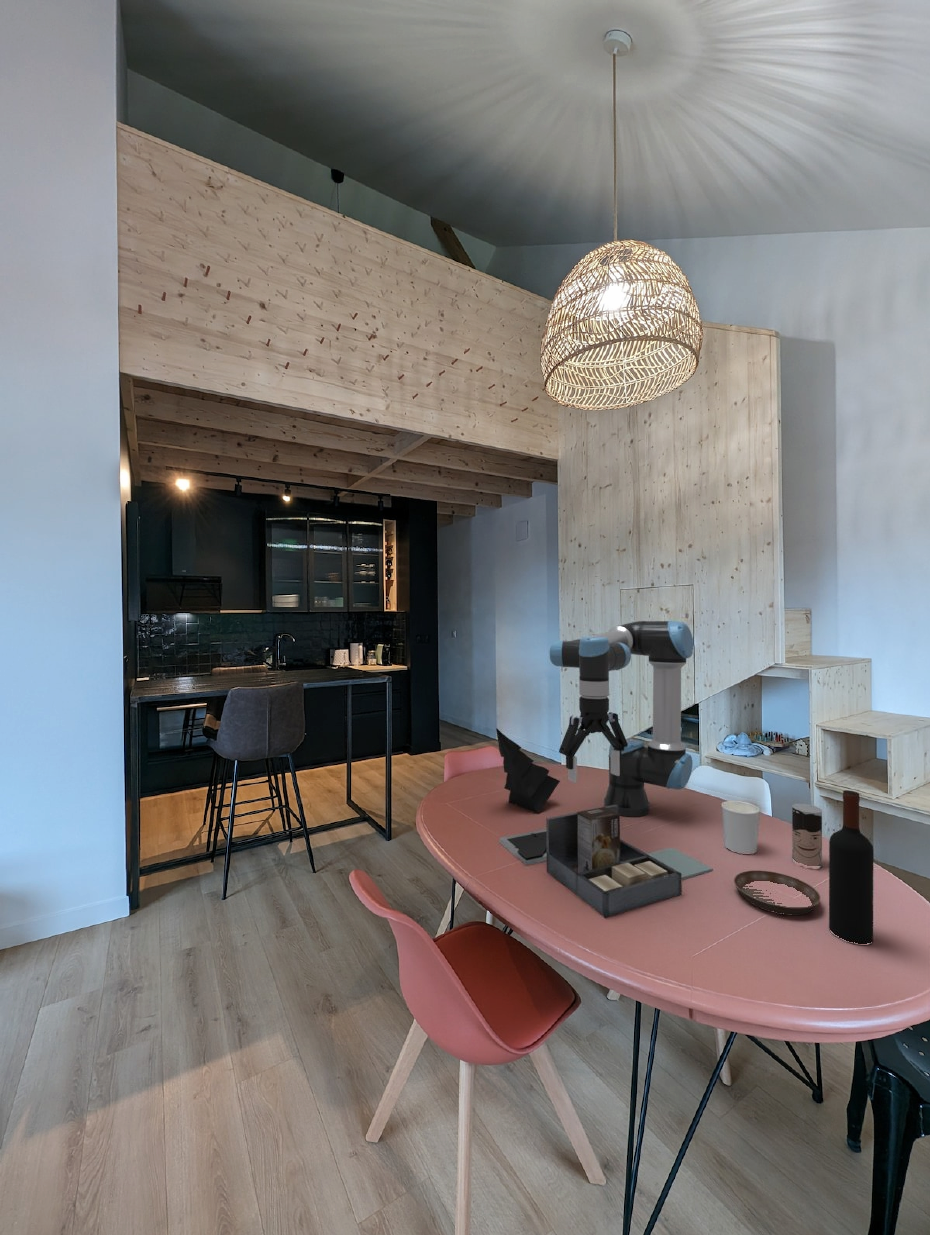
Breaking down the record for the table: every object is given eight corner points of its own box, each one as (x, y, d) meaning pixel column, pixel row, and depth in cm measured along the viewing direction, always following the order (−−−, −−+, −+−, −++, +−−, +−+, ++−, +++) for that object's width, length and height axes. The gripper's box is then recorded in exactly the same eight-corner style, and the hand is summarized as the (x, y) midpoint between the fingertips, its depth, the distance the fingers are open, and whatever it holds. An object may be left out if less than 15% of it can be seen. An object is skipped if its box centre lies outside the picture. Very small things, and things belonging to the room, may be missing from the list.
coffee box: (605, 865, 144) (605, 805, 144) (621, 876, 138) (621, 814, 138) (577, 872, 141) (576, 811, 140) (592, 883, 135) (591, 819, 134)
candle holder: (764, 848, 154) (764, 806, 154) (754, 859, 147) (754, 816, 147) (727, 838, 161) (727, 798, 160) (716, 849, 153) (716, 807, 153)
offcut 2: (649, 880, 136) (649, 861, 136) (667, 891, 131) (667, 871, 131) (634, 885, 134) (634, 865, 134) (651, 896, 129) (651, 875, 129)
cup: (786, 860, 146) (786, 806, 146) (802, 856, 149) (802, 802, 149) (811, 871, 140) (811, 814, 140) (827, 866, 143) (827, 810, 143)
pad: (671, 849, 153) (671, 847, 153) (713, 870, 141) (713, 868, 141) (634, 859, 148) (633, 857, 148) (673, 882, 135) (673, 880, 135)
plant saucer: (721, 880, 136) (721, 868, 136) (792, 881, 136) (792, 869, 136) (756, 921, 118) (756, 907, 118) (838, 922, 118) (838, 908, 118)
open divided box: (615, 854, 151) (615, 804, 150) (681, 894, 129) (681, 836, 129) (546, 871, 141) (546, 818, 141) (605, 917, 120) (605, 855, 119)
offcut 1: (605, 893, 130) (605, 874, 130) (622, 905, 125) (622, 886, 125) (588, 898, 128) (588, 879, 128) (605, 910, 123) (604, 891, 123)
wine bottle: (820, 925, 116) (820, 787, 116) (853, 923, 117) (853, 786, 117) (848, 946, 109) (848, 799, 108) (882, 944, 109) (883, 798, 109)
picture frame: (526, 868, 144) (589, 854, 153) (526, 858, 144) (589, 844, 153) (499, 845, 159) (558, 833, 167) (499, 835, 159) (558, 823, 167)
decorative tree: (512, 810, 193) (468, 740, 180) (535, 779, 201) (494, 710, 188) (542, 822, 182) (498, 748, 169) (566, 789, 189) (525, 716, 176)
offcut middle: (627, 886, 133) (627, 862, 133) (645, 898, 128) (645, 873, 128) (611, 891, 131) (611, 866, 131) (629, 903, 126) (628, 877, 126)
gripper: (622, 691, 148) (622, 768, 148) (545, 697, 138) (545, 780, 138) (641, 695, 141) (641, 775, 141) (562, 702, 131) (562, 788, 131)
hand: (594, 778), depth 140 cm, fingers open, 13 cm apart
